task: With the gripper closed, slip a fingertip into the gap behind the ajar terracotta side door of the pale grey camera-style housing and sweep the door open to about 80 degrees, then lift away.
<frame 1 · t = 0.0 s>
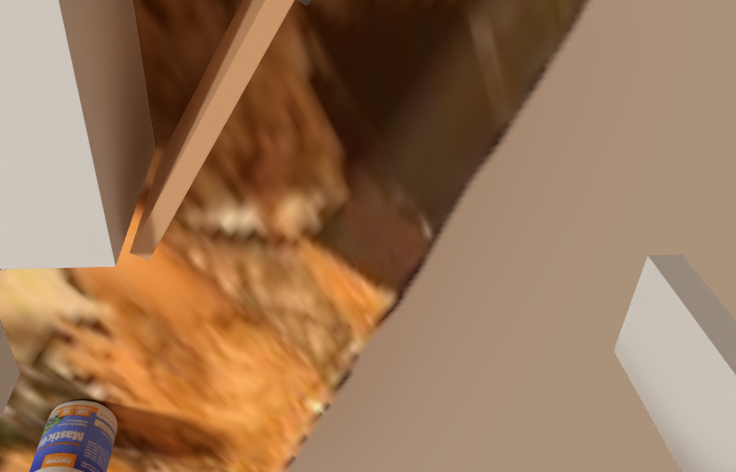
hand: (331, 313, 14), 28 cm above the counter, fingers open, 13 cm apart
side door: (232, 85, 34), point 5 cm above the counter, hinge at 30.0°
pill bottle: (85, 418, 55), on the counter
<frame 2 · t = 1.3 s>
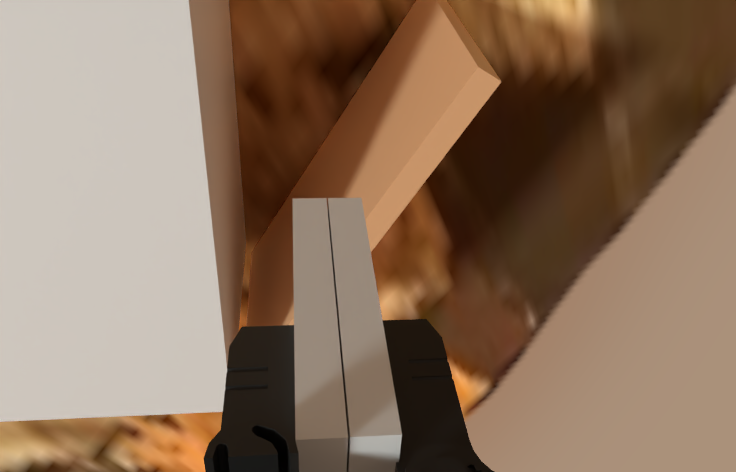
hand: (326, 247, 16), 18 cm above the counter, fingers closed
side door: (356, 194, 30), point 5 cm above the counter, hinge at 30.0°
housing: (63, 91, 32), on the counter
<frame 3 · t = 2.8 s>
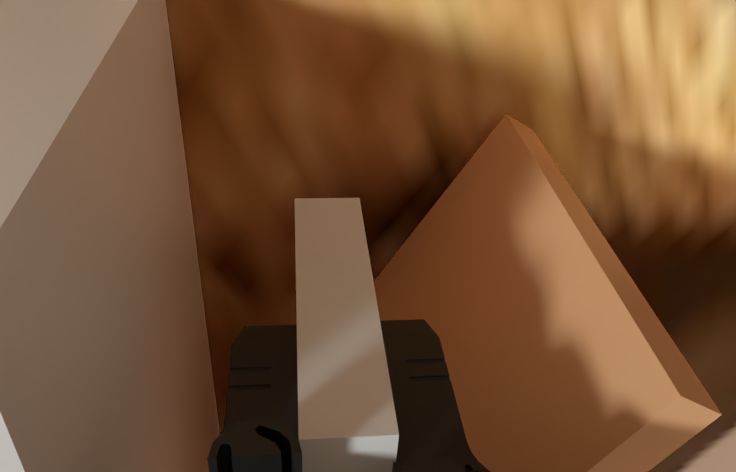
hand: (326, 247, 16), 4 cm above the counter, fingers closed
side door: (390, 454, 18), point 5 cm above the counter, hinge at 30.0°
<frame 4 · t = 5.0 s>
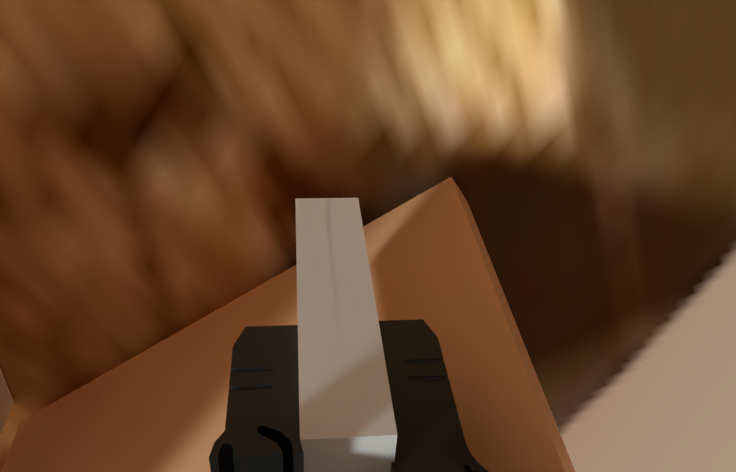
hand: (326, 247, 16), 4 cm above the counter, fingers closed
side door: (224, 461, 18), point 5 cm above the counter, hinge at 55.7°, touching gripper
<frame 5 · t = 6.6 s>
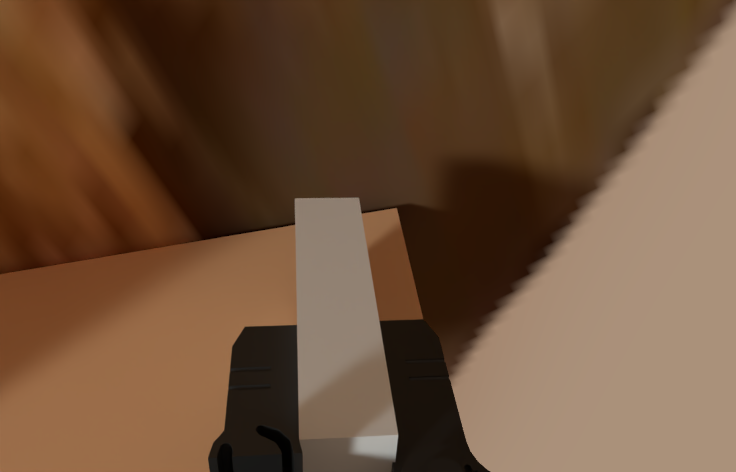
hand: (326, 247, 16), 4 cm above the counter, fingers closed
side door: (76, 417, 16), point 5 cm above the counter, hinge at 79.6°, touching gripper
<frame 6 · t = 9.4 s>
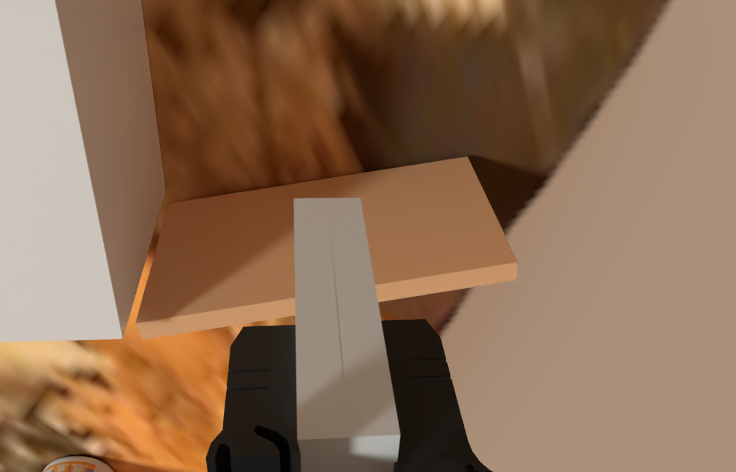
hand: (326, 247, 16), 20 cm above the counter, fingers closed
side door: (325, 246, 34), point 5 cm above the counter, hinge at 79.6°
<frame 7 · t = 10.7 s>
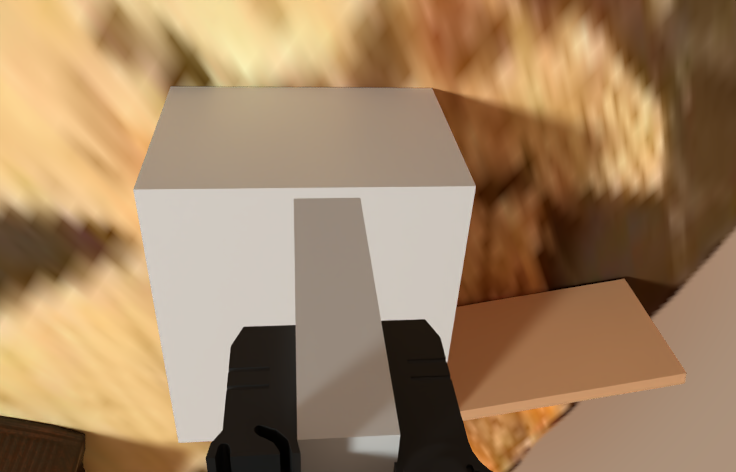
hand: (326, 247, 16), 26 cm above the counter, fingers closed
dark manual coffee grinder: (24, 438, 57), on the counter
side door: (536, 352, 49), point 5 cm above the counter, hinge at 79.6°
housing: (305, 210, 46), on the counter
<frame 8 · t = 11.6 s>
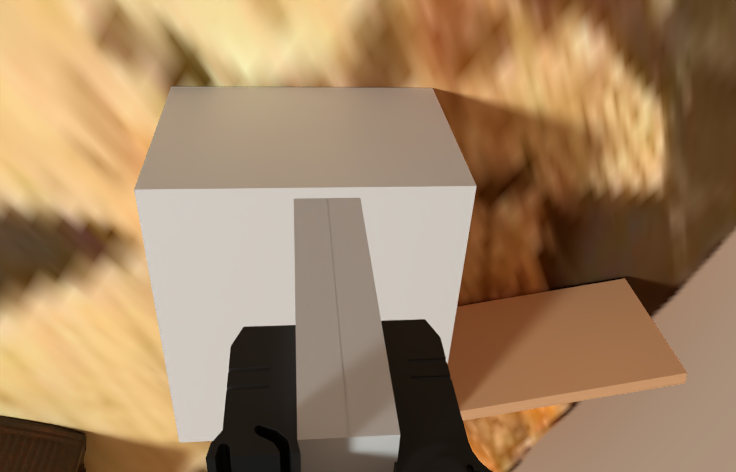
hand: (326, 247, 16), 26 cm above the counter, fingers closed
dark manual coffee grinder: (25, 438, 57), on the counter
side door: (537, 351, 49), point 5 cm above the counter, hinge at 79.6°
housing: (305, 210, 46), on the counter
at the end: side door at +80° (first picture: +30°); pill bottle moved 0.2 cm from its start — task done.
